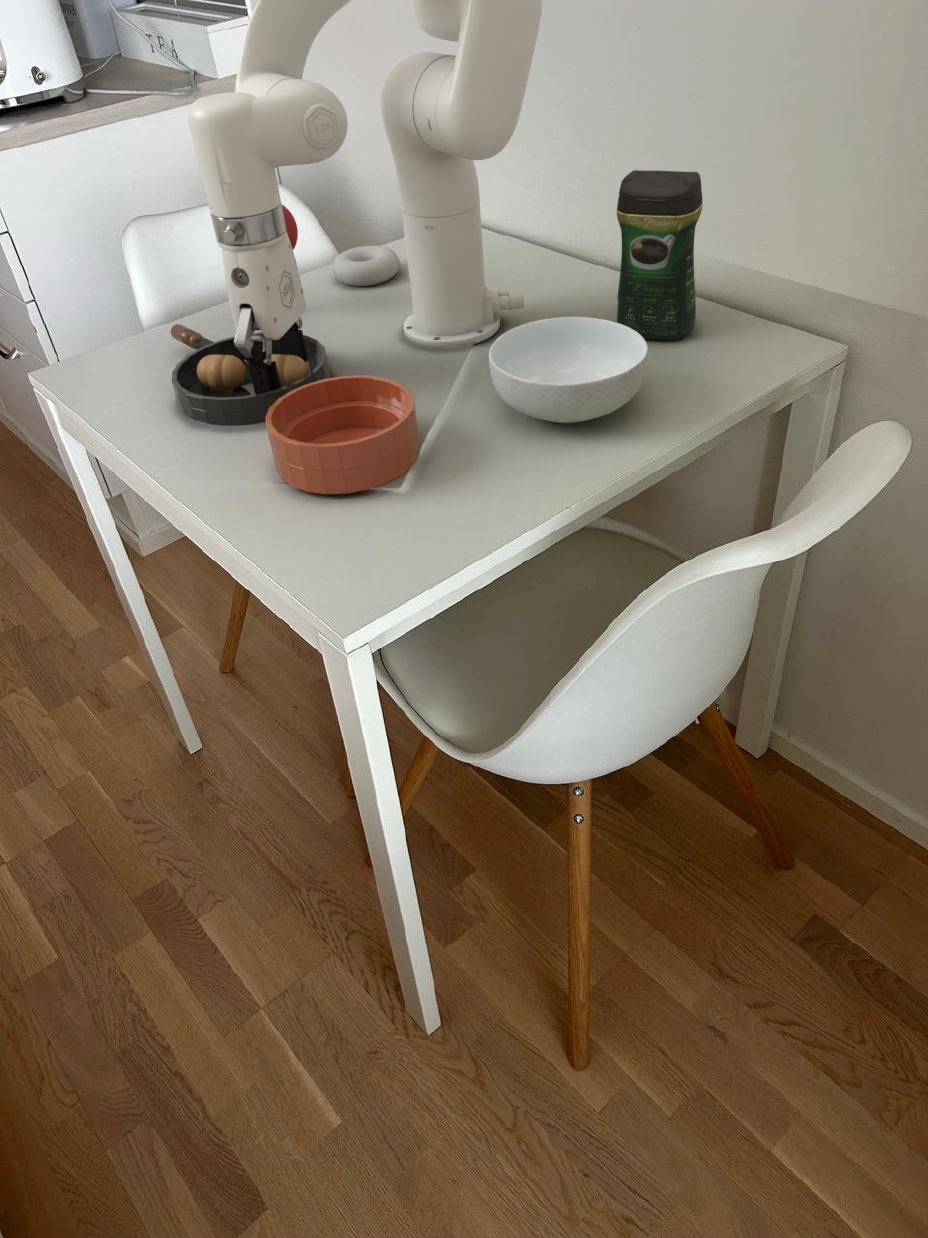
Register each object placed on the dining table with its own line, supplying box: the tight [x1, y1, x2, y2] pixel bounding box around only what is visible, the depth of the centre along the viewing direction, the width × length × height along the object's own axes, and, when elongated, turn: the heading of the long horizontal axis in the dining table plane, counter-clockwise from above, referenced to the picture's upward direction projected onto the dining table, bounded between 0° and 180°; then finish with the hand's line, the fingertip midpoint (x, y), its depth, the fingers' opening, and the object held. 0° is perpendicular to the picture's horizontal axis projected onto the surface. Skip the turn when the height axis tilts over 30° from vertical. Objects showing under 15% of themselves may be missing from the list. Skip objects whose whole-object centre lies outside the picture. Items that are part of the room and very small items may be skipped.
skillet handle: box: [170, 323, 215, 350], centre depth 123 cm, size 10×2×2 cm, turn 42°
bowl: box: [265, 374, 421, 495], centre depth 100 cm, size 15×15×6 cm
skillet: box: [171, 331, 332, 427], centre depth 115 cm, size 18×18×4 cm
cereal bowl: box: [488, 316, 649, 424], centre depth 105 cm, size 17×17×7 cm
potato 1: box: [197, 355, 246, 392], centre depth 116 cm, size 6×4×4 cm, turn 77°
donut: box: [331, 245, 401, 287], centre depth 143 cm, size 10×4×10 cm
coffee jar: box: [615, 169, 704, 340], centre depth 115 cm, size 10×8×19 cm
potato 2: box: [272, 354, 309, 388], centre depth 114 cm, size 7×4×4 cm, turn 77°
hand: (282, 376), depth 114 cm, fingers open, 7 cm apart
